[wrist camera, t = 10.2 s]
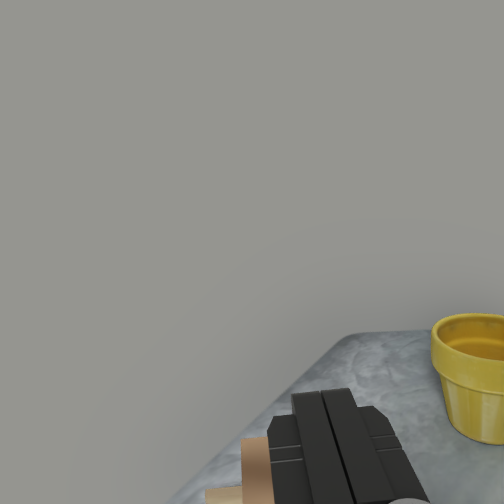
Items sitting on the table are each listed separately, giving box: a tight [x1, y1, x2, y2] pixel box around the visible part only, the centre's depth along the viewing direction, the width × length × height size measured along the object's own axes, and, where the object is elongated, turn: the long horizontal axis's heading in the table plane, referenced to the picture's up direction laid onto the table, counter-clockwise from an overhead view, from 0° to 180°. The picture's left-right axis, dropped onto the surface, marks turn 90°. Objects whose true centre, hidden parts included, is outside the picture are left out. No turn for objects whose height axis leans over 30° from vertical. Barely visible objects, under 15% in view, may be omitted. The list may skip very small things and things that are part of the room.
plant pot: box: [431, 313, 504, 445], centre depth 44 cm, size 10×10×10 cm
